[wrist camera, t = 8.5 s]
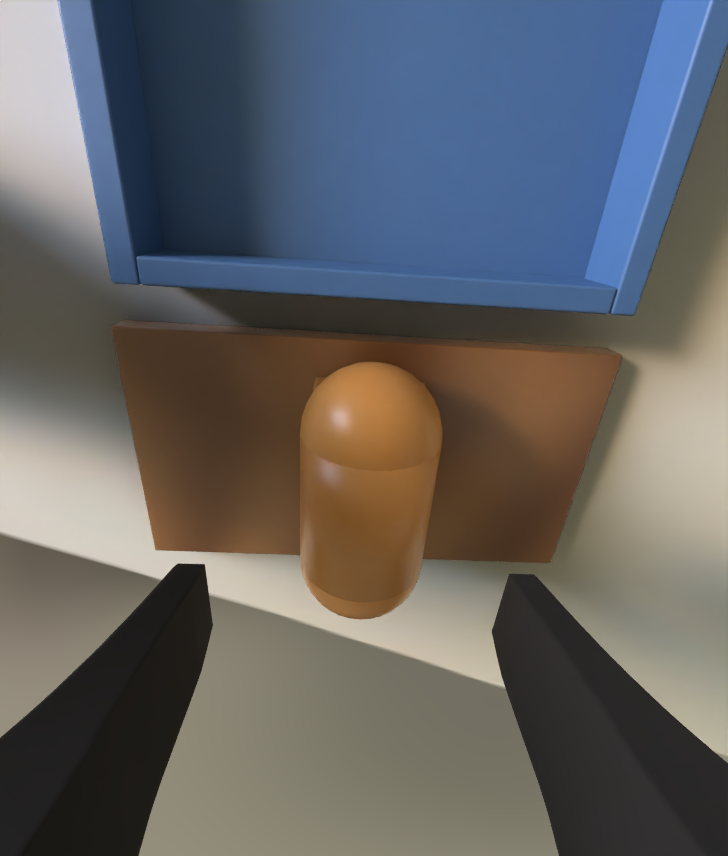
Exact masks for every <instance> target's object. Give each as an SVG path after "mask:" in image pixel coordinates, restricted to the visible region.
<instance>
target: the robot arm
mask: <svg viewBox="0 0 728 856" xmlns="http://www.w3.org/2000/svg"><path fill="white" fill-rule="evenodd" d="M212 626H213V623H212V616H211V608H210V601H209V593H208V586H207V578H206V571H205V564H177V565H176V566H174V567H173V568H172V570H171V571H170V572H169V573H168V574H167V575H166V576H165V577H164V578H163V580H162V581H161V582H160V583H159V584H158V585H157V587H155V588H154V590H153V591H152V592H151V593H150V594H149V595H148V596H147V597H146V598H145V600H144V601H143V602H142V603H141V604H140V605H139V606H138V607H137V608H136V609H135V610H134V611H133V612H132V614H131V615H130V616H129V617H128V618H127V619H126V620H125V621H124V622H123V623H122V624H121V625H120V626H119V627H118V628H117V629H116V630H115V631H114V632H113V634H111V635H110V636H109V638H108V639H107V640H106V641H105V642H104V643H103V644H102V645H101V646H100V647H99V648H98V649H97V650H96V651H95V652H94V653H93V654H92V655H91V656H90V657H89V658H88V659H87V660H85V662H84V663H82V664H81V665H80V666H79V667H78V668H77V669H76V670H75V671H74V672H73V673H72V674H71V675H70V676H69V677H68V678H67V679H66V680H65V681H63V682H62V683H61V684H60V685H59V686H58V687H57V688H56V689H55V690H54V691H53V692H52V693H51V694H50V695H49V696H47V697H46V698H45V699H44V700H43V701H42V702H41V703H40V704H39V705H37V706H36V707H35V708H34V709H33V710H32V711H31V712H30V713H29V714H27V716H25V717H24V718H23V719H22V720H20V721H19V722H18V723H17V724H16V725H15V726H13V727H12V728H11V729H10V730H9V731H8V732H7V733H6V734H4V735H3V736H2V737H1V738H0V856H138V855H139V852H140V848H141V845H142V841H143V838H144V834H145V830H146V827H147V823H148V820H149V816H150V813H151V810H152V807H153V804H154V801H155V797H156V795H157V791H158V789H159V785H160V783H161V780H162V777H163V774H164V772H165V769H166V766H167V764H168V761H169V758H170V755H171V753H172V750H173V747H174V744H175V742H176V739H177V736H178V734H179V731H180V728H181V725H182V723H183V720H184V717H185V715H186V712H187V709H188V707H189V704H190V701H191V698H192V696H193V693H194V690H195V687H196V685H197V682H198V679H199V676H200V673H201V670H202V666H203V662H204V658H205V655H206V651H207V647H208V643H209V639H210V634H211V630H212ZM492 635H493V639H494V644H495V649H496V653H497V658H498V662H499V666H500V670H501V675H502V678H503V681H504V684H505V687H506V690H507V693H508V696H509V699H510V702H511V705H512V708H513V711H514V714H515V717H516V719H517V722H518V725H519V728H520V731H521V734H522V737H523V740H524V742H525V745H526V748H527V751H528V754H529V757H530V759H531V762H532V765H533V768H534V771H535V774H536V777H537V780H538V783H539V785H540V789H541V792H542V795H543V798H544V802H545V805H546V808H547V811H548V815H549V819H550V822H551V827H552V830H553V834H554V838H555V842H556V846H557V849H558V853H559V856H728V763H727V762H726V761H724V760H723V759H722V758H721V757H719V756H718V755H717V754H716V753H715V752H714V751H712V750H711V749H710V748H709V747H708V746H707V745H706V744H704V743H703V742H702V741H701V740H700V739H699V738H697V737H696V736H695V735H694V734H693V733H692V732H690V731H689V730H688V729H687V728H686V727H685V726H683V725H682V724H681V723H680V722H679V721H678V720H677V719H676V718H674V717H673V716H672V715H671V714H670V713H669V712H668V711H667V710H666V709H665V708H663V707H662V706H661V705H660V704H659V703H658V702H657V701H656V700H655V699H654V698H653V697H652V696H651V695H650V694H649V693H648V692H647V691H645V690H644V689H643V688H642V687H641V686H640V685H639V684H638V683H637V682H636V681H635V680H634V679H633V678H632V677H631V676H630V675H629V674H628V673H627V672H626V671H625V670H624V669H623V668H622V667H621V666H620V665H619V664H618V663H617V662H616V661H615V660H614V659H613V658H612V657H611V656H610V655H609V654H608V653H607V652H606V651H605V650H604V649H603V648H602V647H601V646H600V645H599V644H598V643H597V642H596V641H595V640H594V639H593V638H592V637H591V635H590V634H589V633H588V632H587V631H586V630H585V629H584V628H583V627H582V626H581V625H580V624H579V623H578V622H577V621H576V619H575V618H574V617H573V616H572V615H571V614H570V613H569V612H568V611H567V610H566V609H565V608H564V606H563V605H562V604H561V603H560V602H559V601H558V600H557V599H556V598H555V597H554V596H553V594H552V593H551V592H550V591H549V590H548V589H547V588H546V587H545V586H544V585H543V584H542V582H541V581H540V580H539V579H538V578H537V577H536V576H535V575H531V574H509V576H508V580H507V583H506V586H505V590H504V593H503V596H502V600H501V603H500V606H499V609H498V613H497V616H496V619H495V623H494V626H493V629H492Z"/></svg>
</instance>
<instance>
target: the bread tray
mask: <svg viewBox="0 0 728 856" xmlns="http://www.w3.org/2000/svg"><path fill="white" fill-rule="evenodd" d="M58 5H59V10H60V15H61V20H62V25H63V31H64V36H65V41H66V46H67V52H68V57H69V62H70V67H71V73H72V78H73V83H74V88H75V93H76V99H77V104H78V109H79V114H80V120H81V125H82V130H83V135H84V141H85V146H86V151H87V156H88V161H89V167H90V172H91V177H92V182H93V188H94V193H95V198H96V203H97V209H98V214H99V219H100V224H101V229H102V235H103V240H104V245H105V250H106V256H107V261H108V266H109V271H110V277H111V281H112V283H116V284H131V285H139V284H143V285H150V286H165V287H181V288H197V289H213V290H229V291H245V292H261V293H276V294H292V295H308V296H324V297H340V298H356V299H371V300H387V301H403V302H419V303H435V304H451V305H467V306H482V307H498V308H514V309H530V310H546V311H562V312H577V313H593V314H608V313H609V314H611V315H625V316H632V315H634V314H635V313H636V310H637V307H638V304H639V301H640V298H641V295H642V292H643V290H644V287H645V284H646V281H647V278H648V275H649V272H650V269H651V266H652V264H653V261H654V258H655V255H656V252H657V249H658V246H659V243H660V240H661V238H662V235H663V232H664V229H665V226H666V223H667V220H668V217H669V214H670V212H671V209H672V206H673V203H674V200H675V197H676V194H677V191H678V188H679V186H680V183H681V180H682V177H683V174H684V171H685V168H686V165H687V162H688V160H689V157H690V154H691V151H692V148H693V145H694V142H695V139H696V136H697V134H698V131H699V128H700V125H701V122H702V119H703V116H704V113H705V110H706V108H707V105H708V102H709V99H710V96H711V93H712V90H713V87H714V84H715V82H716V79H717V76H718V73H719V70H720V67H721V64H722V61H723V58H724V56H725V53H726V50H727V47H728V0H58Z"/></svg>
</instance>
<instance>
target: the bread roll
mask: <svg viewBox="0 0 728 856" xmlns="http://www.w3.org/2000/svg"><path fill="white" fill-rule="evenodd" d="M442 432H443V429H442V423H441V417H440V412H439V410H438V407H437V405H436V402H435V400H434V398H433V397H432V395H431V394H430V392H429V391H428V390H427V387H426V385H425V383H421V382H420V381H419V380H418V379H417V378H416V377H415V376H413V375H412V374H411V373H409V372H407V371H405V370H403V369H401V368H399V367H397V366H395V365H391V364H387V363H381V362H360V363H355V364H352V365H349V366H346V367H343V368H341V369H339V370H337V371H336V372H334V373H332V374H331V375H329V376H328V377H316V379H315V383H314V388H313V393H312V395H311V396H310V398H309V400H308V402H307V404H306V406H305V409H304V412H303V415H302V419H301V428H300V560H301V568H302V572H303V576H304V579H305V581H306V583H307V586H308V587H309V589H310V591H311V593H312V594H313V595H314V596H315V597H316V599H317V600H318V601H319V602H320V603H321V604H322V605H323V606H324V607H326V608H327V609H328V610H330V611H332V612H334V613H336V614H338V615H340V616H344V617H347V618H353V619H371V618H375V617H380V616H382V615H384V614H387V613H389V612H390V611H392V610H393V609H395V608H396V607H397V606H399V605H400V604H401V603H402V602H403V601H404V600H405V599H406V598H407V597H408V596H409V594H410V593H411V591H412V590H413V588H414V586H415V584H416V582H417V580H418V576H419V573H420V569H421V565H422V559H423V553H424V547H425V541H426V535H427V529H428V523H429V517H430V511H431V506H432V500H433V494H434V488H435V482H436V476H437V470H438V464H439V458H440V452H441V446H442Z"/></svg>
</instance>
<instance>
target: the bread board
mask: <svg viewBox="0 0 728 856" xmlns="http://www.w3.org/2000/svg"><path fill="white" fill-rule="evenodd" d="M111 331H112V336H113V341H114V346H115V351H116V356H117V361H118V366H119V371H120V376H121V381H122V385H123V390H124V395H125V400H126V405H127V410H128V415H129V420H130V425H131V430H132V435H133V440H134V445H135V450H136V455H137V460H138V465H139V470H140V475H141V480H142V485H143V490H144V495H145V500H146V505H147V510H148V515H149V520H150V525H151V530H152V535H153V540H154V545H155V549H156V550H167V551H197V552H227V553H258V554H288V555H300V428H301V419H302V415H303V412H304V409H305V406H306V404H307V402H308V400H309V398H310V396H311V395H312V393H313V388H314V383H315V379H316V377H328V376H329V375H331V374H332V373H334V372H336V371H337V370H339V369H341V368H343V367H346V366H349V365H352V364H355V363H360V362H381V363H387V364H391V365H395V366H397V367H399V368H401V369H403V370H405V371H407V372H409V373H411V374H412V375H413V376H415V377H416V378H417V379H418V380H419V381H420V382H421V383H425V385H426V387H427V390H428V391H429V392H430V394H431V395H432V397H433V398H434V400H435V402H436V405H437V407H438V410H439V412H440V417H441V423H442V429H443V432H442V446H441V452H440V458H439V464H438V470H437V476H436V482H435V488H434V494H433V500H432V506H431V511H430V517H429V523H428V529H427V535H426V541H425V547H424V553H423V559H438V560H469V561H499V562H529V563H551V560H552V557H553V554H554V552H555V549H556V546H557V543H558V540H559V537H560V534H561V532H562V529H563V526H564V523H565V520H566V517H567V514H568V511H569V509H570V506H571V503H572V500H573V497H574V494H575V491H576V488H577V486H578V483H579V480H580V477H581V474H582V471H583V468H584V466H585V463H586V460H587V457H588V454H589V451H590V448H591V445H592V443H593V440H594V437H595V434H596V431H597V428H598V425H599V422H600V420H601V417H602V414H603V411H604V408H605V405H606V402H607V400H608V397H609V394H610V391H611V388H612V385H613V382H614V379H615V377H616V374H617V371H618V368H619V365H620V362H621V359H622V356H621V355H619V354H618V353H616V352H614V351H612V350H610V349H608V348H593V347H577V346H560V345H543V344H526V343H509V342H492V341H475V340H458V339H441V338H424V337H407V336H390V335H373V334H356V333H339V332H323V331H306V330H289V329H272V328H255V327H238V326H221V325H204V324H187V323H170V322H153V321H136V320H123V321H121V322H119V323H117V324H115V325H113V326H111Z"/></svg>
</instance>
